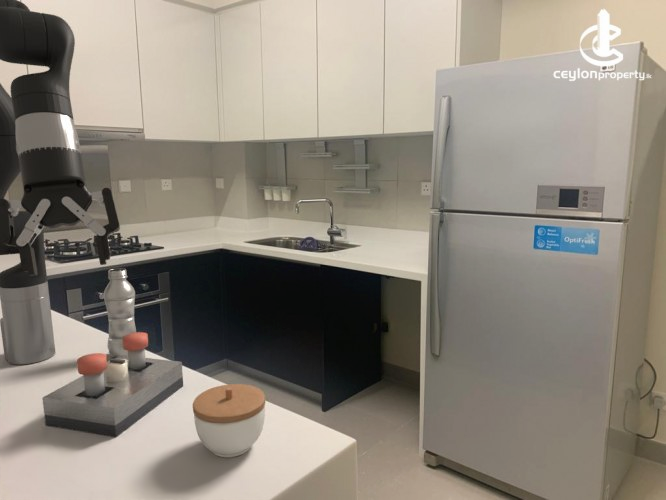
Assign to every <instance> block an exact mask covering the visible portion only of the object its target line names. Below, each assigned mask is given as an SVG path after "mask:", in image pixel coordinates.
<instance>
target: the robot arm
mask: <svg viewBox="0 0 666 500" xmlns="http://www.w3.org/2000/svg"><path fill="white" fill-rule="evenodd" d="M75 42H76V40H75V34H74V32H73V30H72V27H71V26H70V25H69V23H68V22H67V21H66V20H65V19H63V18H62V17H60V16H58V15H55V14H50V13H46V12H45V13H44V12H37V11H31V10H30V8H29V7H28V6H27V5H26V4H25V3H23V2H22V1H19V0H0V61H3V62H6V63H10V64H17V65H27V66H37V67H45V68H49V69H48V70H46V71H42V72H35V73H27V74H22V75H19V76H18V77H15V78H14V79H13V80H12V81H11V84H10V94H9V93H8V92H7V91H6V89H5V87H4V86H3V85H2V83H0V256H5V255H6V256H8V255H19V259H20V262H18V263H17V264H16V265H14V266H12V267H9V268H7V269H4V270H2V271H1V272H0V306H1V313H2V314H1V315H2V318H0V332H1V340H2V348H3V355H4V360H5V361H8V363H10V364H13V365H28V364H35V363H38V362H42V361H45V360H48V359H50V358H52V357H53V356H55V354H56V345H55V337H54V334H55V333H54V327H53V319H52V310H51V309H52V308H51V302H50V301H51V300H50V291H49V283H48V275H47V265H46V264H47V263H46V256H45V239H44V238H45V237H44V236H45V233H44V228H45V227H46V228H49V229H56V228H59V227H62V226H66V227H73V226H76V225H78V224H79V223H80V222H81V223H82V224H84V225H85V226H86V227H87V228H88V229H89V230H91V232H93V233H94V235H96V237H95V241H96V247H97V254H98V260H99V265H100V266H104V265H107V261H109V260H110V259H111V257H112V256H111V250H110V243H109V239H108V238H109V236H111V235H112V234H114V233H116V232H117V233H118V232H119V231H120V230H121V226H120V221H119V219H118V218H119V217H118V213H117V209H116V205H115V200H114V196H113V192H112V190H111V188H109V187H104V188H102V190H99V191H98V190H97V191H92V192H90V191H89V189H88V188H87V182H86V177H85V169H84V163H83V159H82V152H81V144H80V139H79V135H78V134H79V133H78V132H77V127H76V125H75V121H74V115H73V109H72V103H71V97H70V95H71V94H70V79H71V78H70V76H71V71H72V70H71V69H72V63H73V57H74V53H75V45H76V43H75ZM19 174H20V176H21V181H22V189H23V196H22V198H21V199H6V198H5V197H6V195H7V193H8V191H9V189H10V187H11V186H12V184H13V182H14V181H15V180H16V179H17V177H18V176H19ZM93 201H96V202H97V203H98V205H99V206H100V207H103V208H105V211H106V216H107V220H108V223H107V224H105V225H101V224H100V223H99V222H98V221H97V220H95V219H94V218H93V216H91V215H90V214H89V213H88V210H89V208H90V206H91V205H92V203H93ZM20 209H24V210H20Z"/></svg>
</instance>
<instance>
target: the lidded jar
mask: <svg viewBox="0 0 666 500" xmlns="http://www.w3.org/2000/svg"><path fill="white" fill-rule="evenodd" d="M265 407H266V396H265V393H264V392H263V390H261V389H260V388H259V387H257V386H253V385H250V384H244V383H230V384H229V383H228V384H222V385H218V386H214V387H211V388H209V389H207V390H205V391H202V392H201V393H199V394H198V395H197V396H196V397H195V398H194V400H193V402H192V410H193V411H192V412H193V418H194V425H195V431H196V434H197V436H198V438H199V440H200V441H201V444H203V446H205V448H207V450H209V451H211V453H212V454H213V455H215V456H217V457H220V458H235V457H236V458H237V457H239V456H241V455H243V454H246V453H247V452H248V451H249V450H250V449H251V448H252V446H253V445H254V444H255V443H256V441H258V439H259V437H260V436H261V434H262V432H263V427H264V423H265V416H266V411H265V410H266V408H265Z"/></svg>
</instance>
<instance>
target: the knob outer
mask: <svg viewBox="0 0 666 500" xmlns="http://www.w3.org/2000/svg"><path fill="white" fill-rule="evenodd" d="M76 360H77V362H76V365H77V372H78V374H80V375H82V376H84V386H85V394H86V395H87V396H95V395H99V394H101V393H103V392H104V391H105V385H104V375H103V371H104V370H106V369H107V362H108V360H107V354H105V353H101V352H100V353H99V352H95V353H88V354H86V355H82V356H80V357H79V358H77V359H76Z"/></svg>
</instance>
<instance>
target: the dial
mask: <svg viewBox="0 0 666 500" xmlns="http://www.w3.org/2000/svg"><path fill="white" fill-rule="evenodd" d="M106 378H107V381H108V382H112V383H114V382H120V381H124V380H126V379H127V378H128V366H127V360H126V359H115V358H110V359H109V360H107V369H106Z"/></svg>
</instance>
